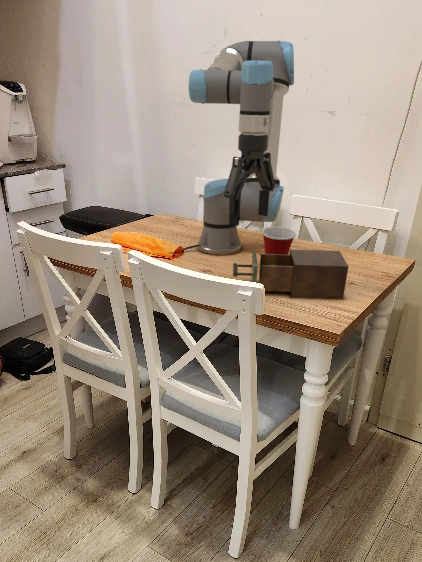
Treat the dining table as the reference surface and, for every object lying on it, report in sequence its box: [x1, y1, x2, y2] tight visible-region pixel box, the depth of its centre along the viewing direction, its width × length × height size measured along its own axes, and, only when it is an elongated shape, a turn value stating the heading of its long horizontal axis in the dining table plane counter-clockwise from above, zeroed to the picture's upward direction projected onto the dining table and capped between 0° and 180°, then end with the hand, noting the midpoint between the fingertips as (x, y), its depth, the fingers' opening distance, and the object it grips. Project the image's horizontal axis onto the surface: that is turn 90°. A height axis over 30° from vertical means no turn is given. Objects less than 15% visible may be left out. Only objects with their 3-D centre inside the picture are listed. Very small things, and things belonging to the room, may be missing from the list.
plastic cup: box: [261, 226, 297, 255], centre depth 154 cm, size 11×11×12 cm
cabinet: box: [289, 249, 349, 300], centre depth 140 cm, size 15×14×10 cm
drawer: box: [232, 251, 294, 293], centre depth 140 cm, size 19×12×8 cm, turn 87°
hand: (248, 219), depth 133 cm, fingers open, 13 cm apart
